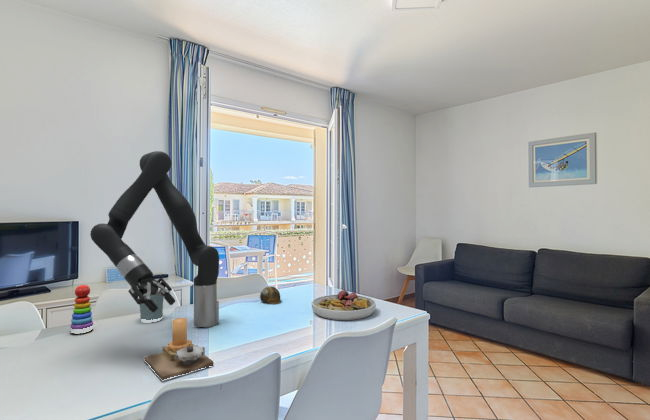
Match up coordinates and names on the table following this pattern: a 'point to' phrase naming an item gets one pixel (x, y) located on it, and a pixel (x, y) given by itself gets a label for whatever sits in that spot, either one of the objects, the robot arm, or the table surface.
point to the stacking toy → (82, 308)
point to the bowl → (343, 306)
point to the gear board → (178, 361)
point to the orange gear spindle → (179, 335)
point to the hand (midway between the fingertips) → (164, 306)
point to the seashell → (270, 295)
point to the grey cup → (149, 314)
